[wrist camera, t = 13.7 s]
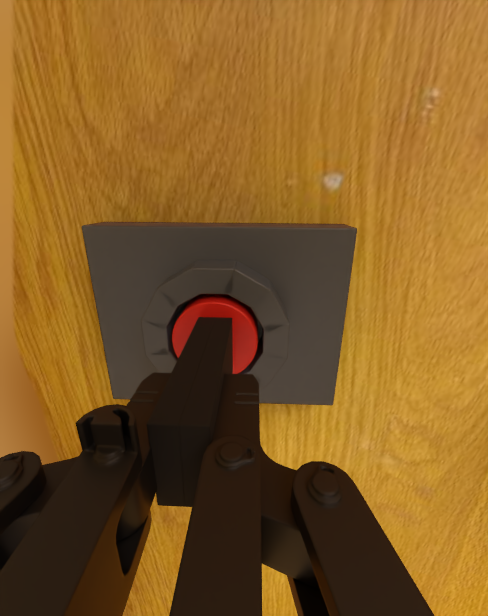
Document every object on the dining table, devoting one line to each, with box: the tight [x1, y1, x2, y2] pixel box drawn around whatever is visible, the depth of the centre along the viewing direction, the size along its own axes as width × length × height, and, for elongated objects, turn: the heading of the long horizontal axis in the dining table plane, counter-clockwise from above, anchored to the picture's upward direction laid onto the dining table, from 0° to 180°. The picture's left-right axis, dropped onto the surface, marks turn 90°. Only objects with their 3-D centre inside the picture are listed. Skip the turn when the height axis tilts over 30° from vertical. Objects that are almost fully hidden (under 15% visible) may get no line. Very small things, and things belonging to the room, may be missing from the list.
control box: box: [82, 222, 357, 405], centre depth 16 cm, size 13×10×4 cm
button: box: [172, 294, 258, 374], centre depth 14 cm, size 4×4×2 cm
